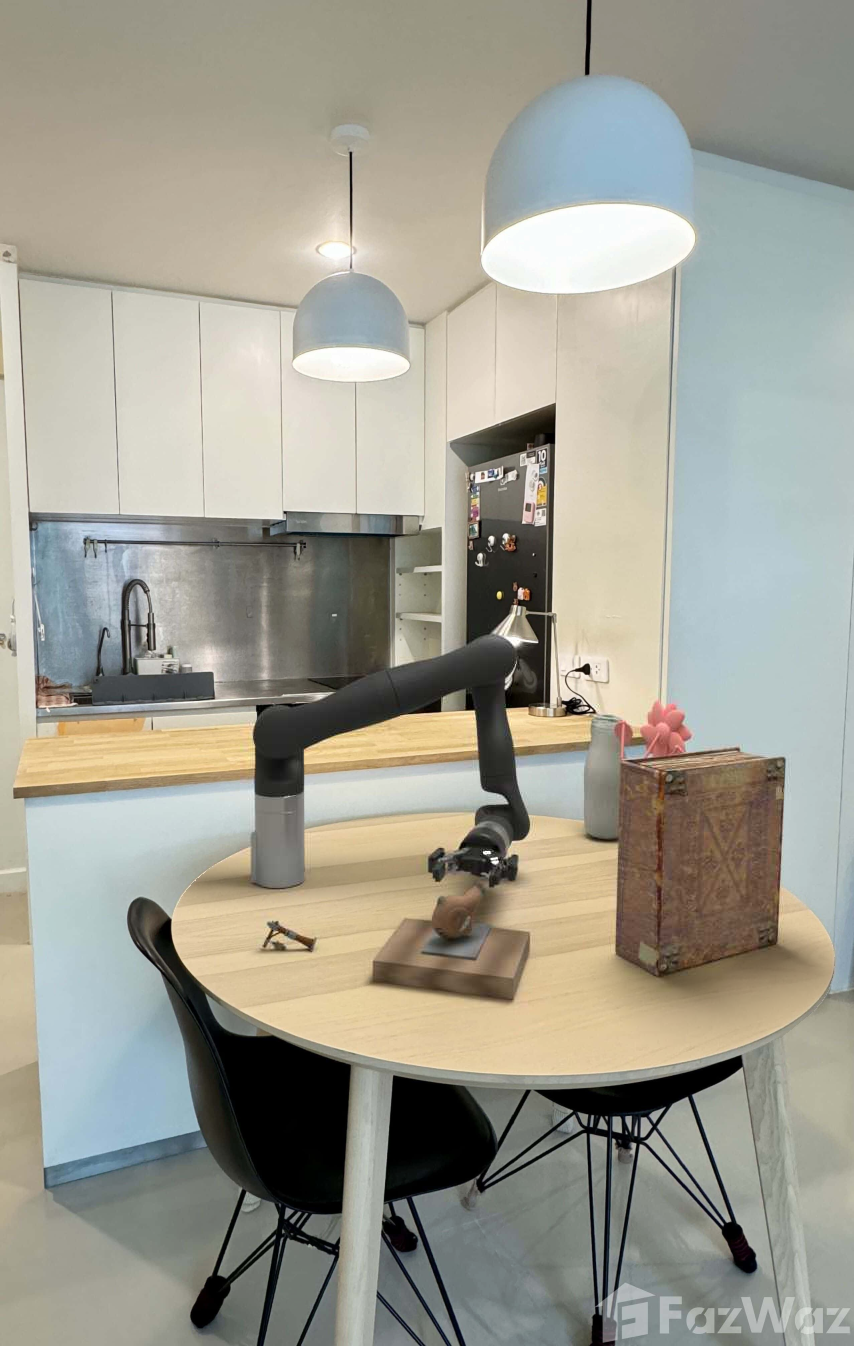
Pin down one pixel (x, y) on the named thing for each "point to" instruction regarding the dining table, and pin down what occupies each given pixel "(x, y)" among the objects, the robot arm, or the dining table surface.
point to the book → (698, 857)
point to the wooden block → (454, 959)
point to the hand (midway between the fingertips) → (464, 878)
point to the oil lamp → (457, 913)
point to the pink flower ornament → (658, 731)
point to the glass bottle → (603, 779)
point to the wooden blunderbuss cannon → (290, 934)
